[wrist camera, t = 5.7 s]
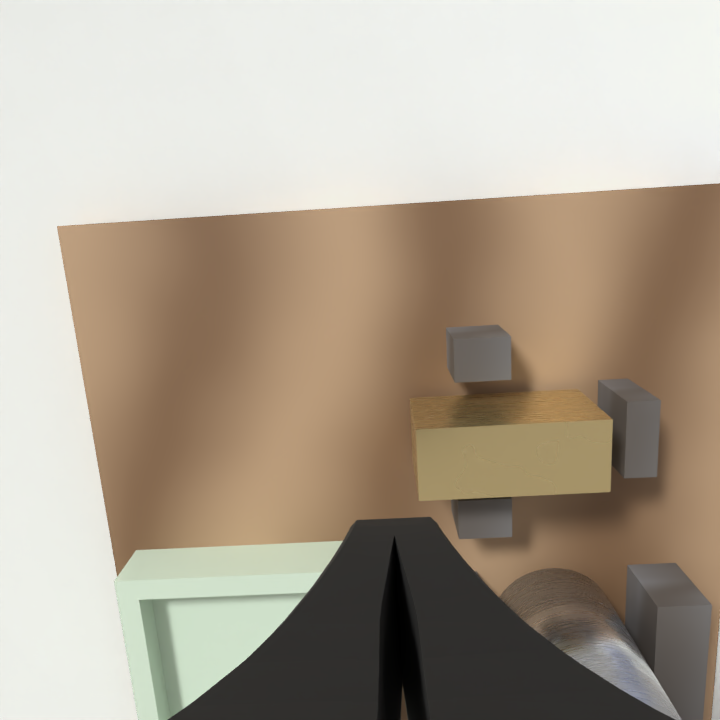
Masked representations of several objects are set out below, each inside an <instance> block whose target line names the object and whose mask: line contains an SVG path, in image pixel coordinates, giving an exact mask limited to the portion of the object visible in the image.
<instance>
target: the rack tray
mask: <svg viewBox="0 0 720 720" xmlns="http://www.w3.org/2000/svg"><path fill="white" fill-rule="evenodd" d="M342 542H343V541H328V542H306V543H284V544H262V545H240V546H218V547H196V548H173V549H151V550H136V551H135V552H134V554H133V555H132V557H131V558H130V559H129V561H128V562H127V564H126V565H125V567H124V568H123V569H122V571H121V572H120V574H119V575H118V577H117V578H116V579H115V581H114V584H115V590H116V595H117V601H118V607H119V613H120V618H121V624H122V630H123V636H124V641H125V647H126V653H127V659H128V664H129V670H130V676H131V682H132V687H133V693H134V699H135V705H136V710H137V716H138V720H168V719H169V718H171V717H172V716H174V715H175V714H176V713H178V712H179V711H181V710H182V709H184V708H185V707H187V706H188V705H189V704H191V703H192V702H193V701H195V700H196V699H197V698H199V697H200V696H201V695H202V694H204V693H205V692H206V691H207V690H209V689H210V688H211V687H212V686H214V685H215V684H216V683H217V682H219V681H220V680H221V679H222V678H224V677H225V676H226V675H227V674H229V673H230V672H231V671H232V670H234V669H235V668H236V667H237V666H239V665H240V664H241V663H242V662H243V661H245V660H246V659H247V658H248V657H249V656H250V655H251V654H252V653H253V652H254V651H255V650H256V649H257V648H258V647H259V646H260V645H261V644H262V643H263V642H264V641H265V640H266V639H267V638H268V637H269V636H270V635H271V634H272V633H273V632H274V631H275V630H276V629H277V628H278V627H279V626H280V625H281V623H282V622H283V621H284V620H285V619H286V618H287V617H288V615H289V614H290V613H291V612H292V611H293V609H294V608H295V607H296V606H297V605H298V603H299V602H300V601H301V600H302V599H303V597H304V596H305V595H306V594H307V592H308V591H309V590H310V589H311V587H312V586H313V585H314V583H315V582H316V581H317V579H318V578H319V576H320V575H321V573H322V572H323V571H324V569H325V568H326V566H327V565H328V564H329V562H330V561H331V559H332V558H333V556H334V555H335V553H336V551H337V550H338V548H339V547H340V545H341V543H342Z"/></svg>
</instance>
